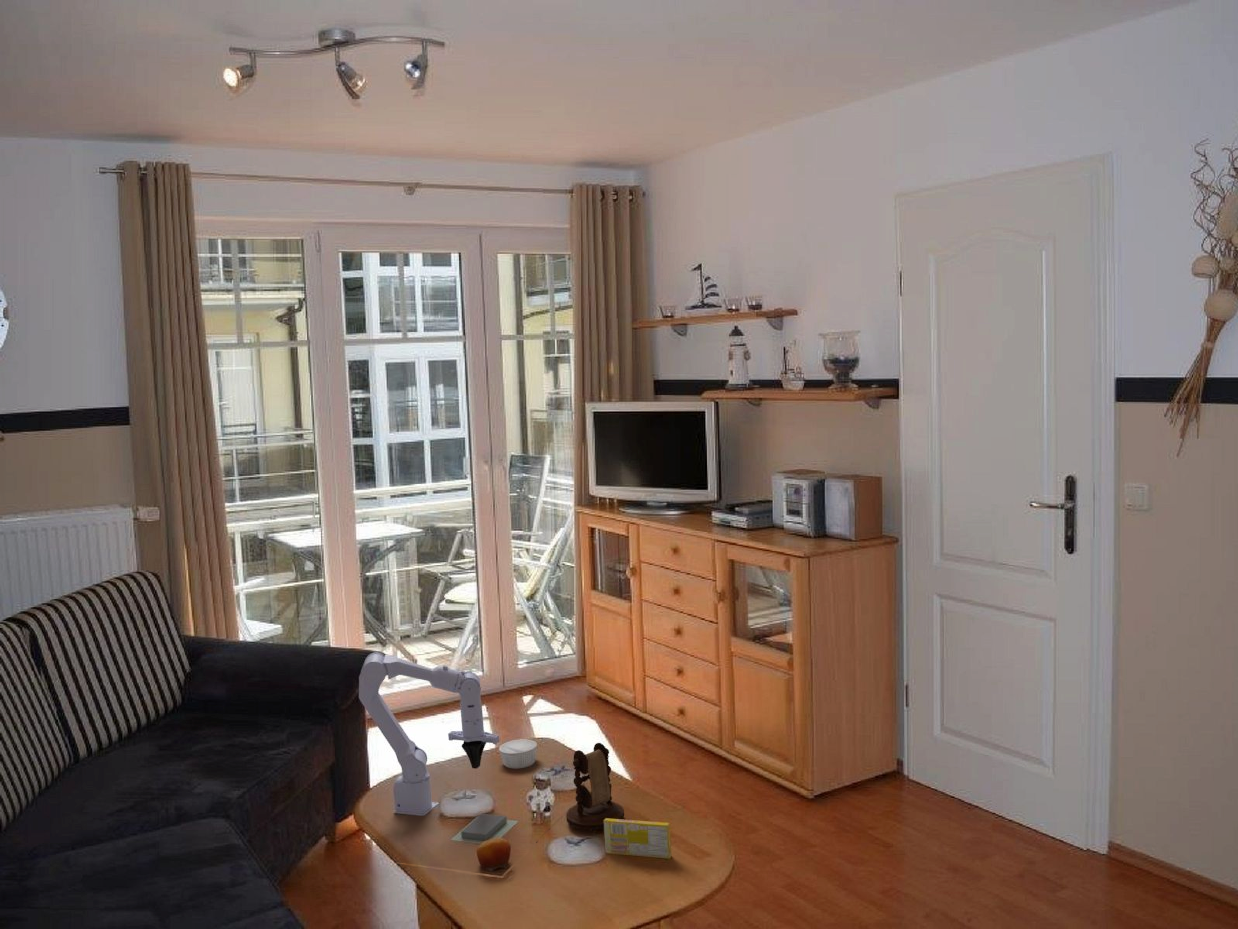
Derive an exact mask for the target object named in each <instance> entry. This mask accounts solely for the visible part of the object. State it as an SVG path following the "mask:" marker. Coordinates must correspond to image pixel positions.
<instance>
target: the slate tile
mask: <svg viewBox="0 0 1238 929" xmlns="http://www.w3.org/2000/svg"><path fill="white" fill-rule="evenodd" d="M477 817H478V818H476V817H475V818H476V819H475V818H474V819H475V820H474V819H473V820H474V821H473V820H472V821H473V822H472V821H471V822H472V823H471V822H470V823H471V824H469V823H468V824H469V825H468V824H467V825H468V826H467V825H466V826H467V827H466V826H465V827H466V828H465V827H464V828H465V829H464V828H463V829H464V830H463V831H461V830H460V831H461V836H462V838H468V839H476V840H484V841H486V840H488V839H489V838H490V837H491V836H492V835H493V834H494V833H495V832H496V831H498V830H499V829H500V828H501V827H502V826H503V825H504V824H505V823H506V822H507V820H508V819H507V816H506V815H501V814H500V815H499V814H492V813H491V814H490V813H481V814H480V815H478V816H477Z"/></svg>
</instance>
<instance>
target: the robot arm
mask: <svg viewBox="0 0 1238 929" xmlns="http://www.w3.org/2000/svg"><path fill="white" fill-rule="evenodd" d="M398 676H403V677H404V676H405V677H407V678H412V679H418V680H423V681H427V682H429V684H430V685H431V687H432V688H435V689H439V690H443V691H446V692H450V693H453V694H459V696H460V697H459V698H460V702H459V707H460V719H461V730H457V731H455V730H451V731H449V733H447V735H448V741H463V743H462V744H461V748H462V750H463V751H464V752H465V753H466V756H467V757H468V760H469V761H470V766H471V768H472V769H474V770H475V769H476V770H477V769H478V768H479V767H481V762H482V756H483V753H484V749H485V746H487V745H486V744H487V743H489V744H490V743H491V744H493V745H497V744H498V743H500V734H494V733H491V732H488V731H485V730H484V717H483V705H482V704H483V703H482V700H481V698H482V696H481V692H482V690H481V688H482V687H481V680H480V678H479V676H478V675H477V674H476V673H474V672H472V671H469V670H468V671H465V670H461V671H459V670H455V669H451V668H449V665H446V664H443V665H442V666H441V665H438V666H435V667H434V668H430V667H428V666H425V665H421V664H418V663H415V662H413V661H412V662H411V661H409V660H407V659H403V658H399V657H397V656H394V655H392V654H386V653H385V655H384V654H383V653H381V652H377V651H376V652H372V653H370V654H368V655H367V656H366V657H365V660H364V662H363V664H362V667H361V670H360V674H359V676H358V683H359V684H358V699H359V700H360V702H361V704H362V706H363V707H364V708H365V710H366V711H367V713H368V714H369V716H370V717H371V719H372V720H373V722H374V724H375V725H376V726H377V727H378V729H379V731H380V732H381V734H382V735H383V737H384V738H385V740H386V741H387V743H388V744H389V746H390V747H391V748H392V751H393V752H394V754H395V756H396V759H397V762H398V763H399V765H400V767H401V774H402V775H399V776H398V777H397V778H396V779H395V781H394V783H393V799H394V800H393V801H394V811H393V813H394V814H400V815H407V816H408V815H409V816H411V815H412V816H421V817H424V816H426V814H428V813H429V812H431V811H432V810H434V808H436V807H437V806H438V805H439V802H435V801H433V799H432V789H431V778H430V772H428V770H427V762H428V755H427V753H426V752H425V750H423V749H422V748H420V747H418V746H417V745H416V743H415V742H414V741H413V740H411V738H409V736H408V735H407V733H406V731H405V729H403V727H402V725H401V724H400V723H399V721H398V719H397V718H396V717H395V715H394V713H393V712H392V711H391V709H390V708H389V706H388V705H387V703H386V701H385V700H384V698H383V697H382V696H381V694H380V692H379V691H380V687H381V685H382V684H383V682H384V680H385V679H386V677H387V680H391V679H394V678H396V677H398Z"/></svg>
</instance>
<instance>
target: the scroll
mask: <svg viewBox="0 0 1238 929" xmlns="http://www.w3.org/2000/svg"><path fill="white" fill-rule="evenodd" d="M609 754H610V750H609V749H608V748H606V746H605V744H602V743H601V742H596V743H595V744H594V746H593V751H591V752H588V753H585V752H583V751H582V750H575V751H574V753H573V761H572V765H573V769H574V778H573V784H574V786H575V787H576V788H575V794H576V796H575V802H576V804H575V805H574V806H572V807H571V808H569V809H568V810H567V811H566V818H565V819H566V822H567V823H568V824H569V825H571V826H572V827H573V828H576V829H581V830H590V831H591V834H592V835H594V834H595V833H596V830H600V829H601V830H602V829H604V820H605V819H606V818H609V819H622V820H625V819H624V818H625V809H624V808H623V805H621V804H619V803H617V802H614V801H612V800H613V797H612V784H611V783H610V782H611V778H610V774H611V771H612V768H611V766H610V762H609V758H610V757H609ZM581 774H582V775H583V776H581ZM588 780H589V783H590V790H589V788H588V787H586V786H585V785H582V784H583V783H585V782H588Z"/></svg>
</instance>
